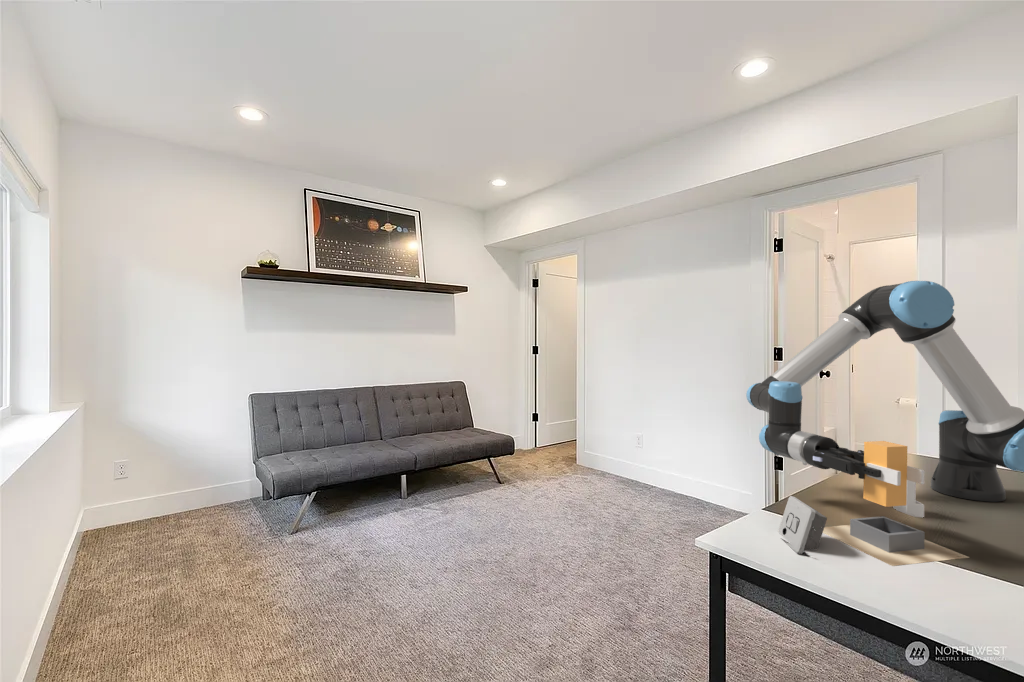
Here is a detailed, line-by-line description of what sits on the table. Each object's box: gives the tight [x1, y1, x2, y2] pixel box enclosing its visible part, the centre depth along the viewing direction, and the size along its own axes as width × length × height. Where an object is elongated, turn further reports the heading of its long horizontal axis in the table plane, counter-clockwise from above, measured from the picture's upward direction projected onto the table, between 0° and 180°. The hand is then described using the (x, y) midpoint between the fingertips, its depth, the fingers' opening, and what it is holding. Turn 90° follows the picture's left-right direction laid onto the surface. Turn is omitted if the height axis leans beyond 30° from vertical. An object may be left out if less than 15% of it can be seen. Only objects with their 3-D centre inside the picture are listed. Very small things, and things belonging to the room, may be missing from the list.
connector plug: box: [862, 440, 908, 508], centre depth 100 cm, size 5×5×12 cm
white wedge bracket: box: [892, 480, 925, 518], centre depth 119 cm, size 4×10×9 cm, turn 168°
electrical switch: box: [777, 495, 828, 555], centre depth 100 cm, size 9×5×9 cm, turn 175°
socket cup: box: [849, 516, 926, 553], centre depth 100 cm, size 9×9×3 cm
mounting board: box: [822, 524, 970, 567], centre depth 100 cm, size 18×18×1 cm
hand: (910, 477), depth 95 cm, fingers closed on connector plug, 5 cm apart
